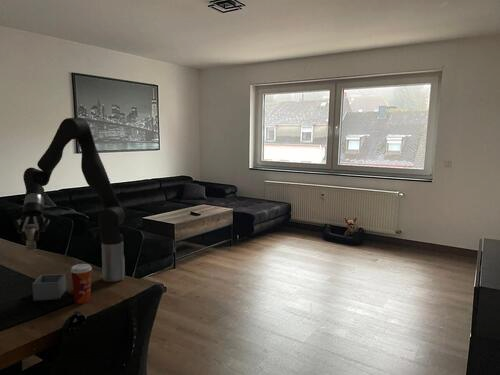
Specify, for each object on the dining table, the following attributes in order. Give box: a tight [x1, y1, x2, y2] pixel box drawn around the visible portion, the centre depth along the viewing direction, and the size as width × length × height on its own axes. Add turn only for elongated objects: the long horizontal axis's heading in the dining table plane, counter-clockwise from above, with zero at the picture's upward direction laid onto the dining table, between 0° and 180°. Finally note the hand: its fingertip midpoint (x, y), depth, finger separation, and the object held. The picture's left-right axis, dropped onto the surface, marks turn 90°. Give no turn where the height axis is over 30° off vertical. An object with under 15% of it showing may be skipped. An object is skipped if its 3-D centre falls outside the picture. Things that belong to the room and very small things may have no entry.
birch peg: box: [25, 224, 37, 251], centre depth 152 cm, size 4×4×10 cm
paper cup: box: [70, 263, 93, 304], centre depth 144 cm, size 8×8×14 cm
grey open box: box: [31, 273, 67, 302], centre depth 149 cm, size 9×9×7 cm
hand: (29, 240), depth 150 cm, fingers closed on birch peg, 3 cm apart
